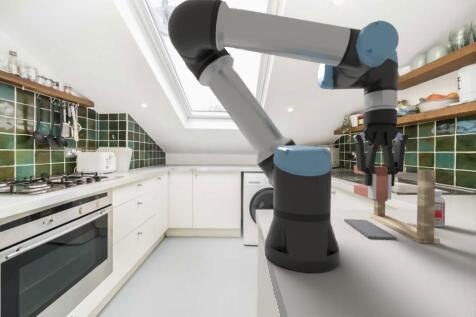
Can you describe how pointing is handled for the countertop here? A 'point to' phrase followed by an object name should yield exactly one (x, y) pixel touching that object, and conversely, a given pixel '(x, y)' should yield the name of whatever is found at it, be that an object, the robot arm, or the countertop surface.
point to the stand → (424, 209)
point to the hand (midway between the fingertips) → (379, 198)
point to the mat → (369, 229)
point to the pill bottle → (439, 209)
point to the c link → (380, 183)
